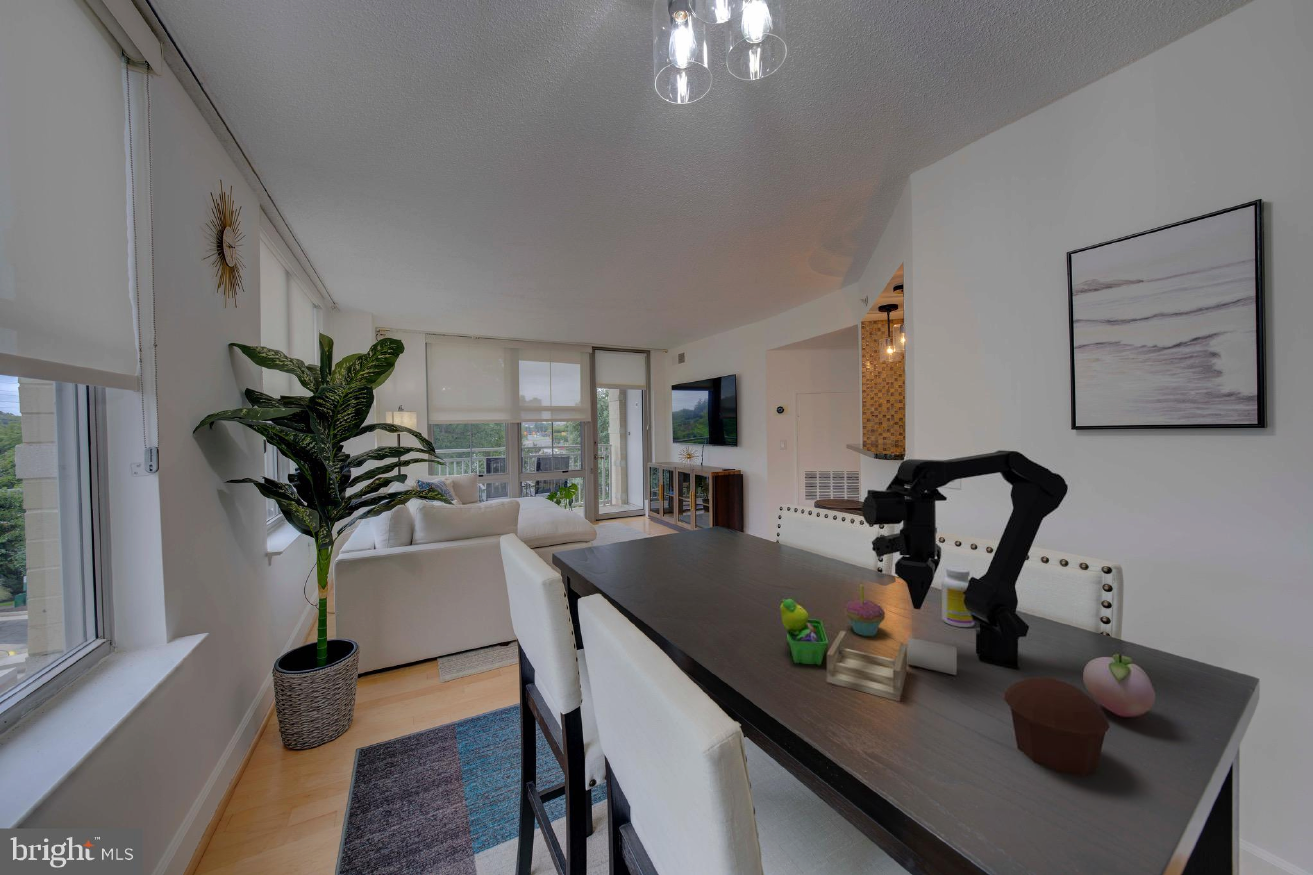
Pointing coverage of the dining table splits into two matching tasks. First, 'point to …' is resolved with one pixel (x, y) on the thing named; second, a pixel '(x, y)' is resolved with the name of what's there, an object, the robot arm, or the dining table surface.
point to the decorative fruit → (1119, 685)
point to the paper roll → (932, 656)
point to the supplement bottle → (955, 597)
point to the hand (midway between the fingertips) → (919, 601)
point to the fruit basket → (803, 634)
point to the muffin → (1057, 725)
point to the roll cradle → (866, 670)
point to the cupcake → (864, 615)
